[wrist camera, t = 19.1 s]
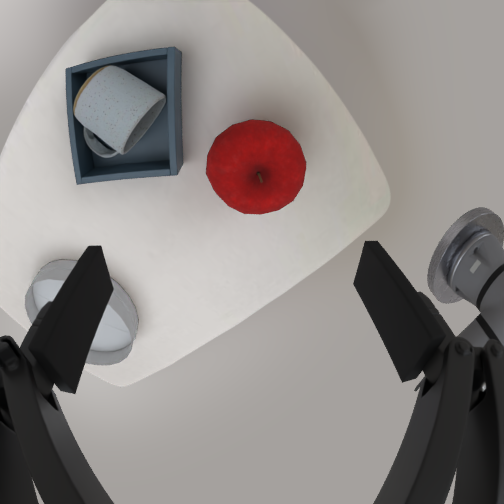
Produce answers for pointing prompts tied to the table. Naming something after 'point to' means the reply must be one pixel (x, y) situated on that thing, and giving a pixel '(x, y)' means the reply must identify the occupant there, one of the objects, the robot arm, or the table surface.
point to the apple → (256, 167)
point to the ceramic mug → (116, 109)
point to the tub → (156, 137)
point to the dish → (113, 320)
